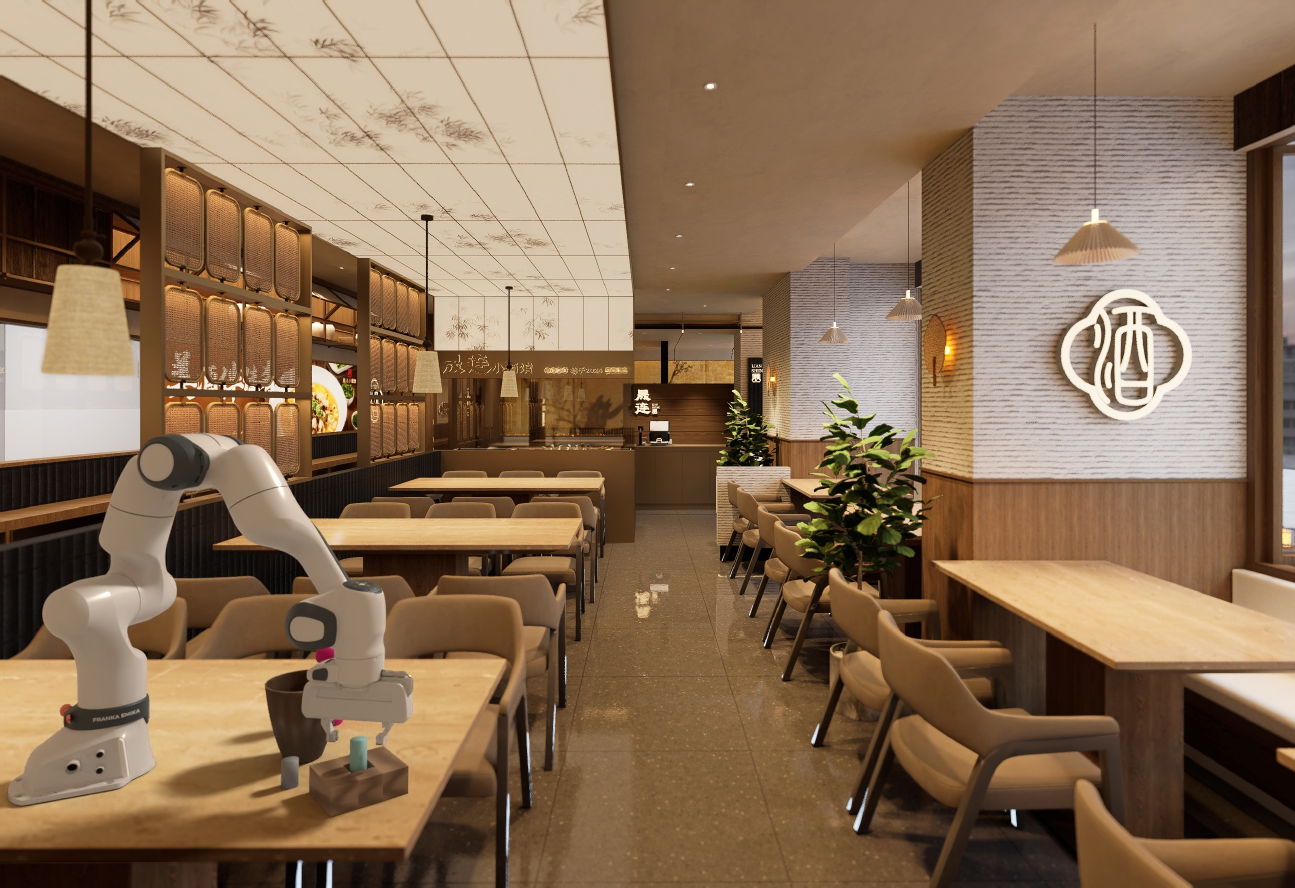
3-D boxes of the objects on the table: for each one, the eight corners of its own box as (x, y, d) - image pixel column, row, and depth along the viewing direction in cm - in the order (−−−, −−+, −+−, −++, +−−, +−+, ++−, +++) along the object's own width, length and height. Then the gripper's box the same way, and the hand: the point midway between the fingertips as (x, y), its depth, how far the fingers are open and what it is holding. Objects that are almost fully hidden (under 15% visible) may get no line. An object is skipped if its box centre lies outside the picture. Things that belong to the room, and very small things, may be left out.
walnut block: (330, 817, 128) (330, 788, 128) (309, 792, 137) (309, 765, 137) (408, 793, 137) (408, 766, 137) (383, 771, 146) (383, 745, 146)
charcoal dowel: (283, 791, 137) (283, 764, 137) (278, 785, 140) (279, 759, 140) (300, 786, 139) (300, 760, 139) (295, 780, 142) (296, 754, 142)
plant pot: (354, 742, 160) (355, 669, 160) (324, 773, 145) (325, 692, 145) (285, 741, 160) (286, 668, 160) (248, 772, 145) (249, 691, 145)
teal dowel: (352, 798, 135) (353, 743, 135) (346, 792, 137) (347, 738, 137) (368, 793, 137) (369, 739, 137) (363, 787, 139) (363, 734, 139)
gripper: (420, 666, 140) (417, 739, 140) (316, 660, 141) (313, 732, 141) (406, 677, 133) (404, 753, 133) (298, 670, 135) (295, 746, 135)
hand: (356, 742), depth 137 cm, fingers open, 8 cm apart
